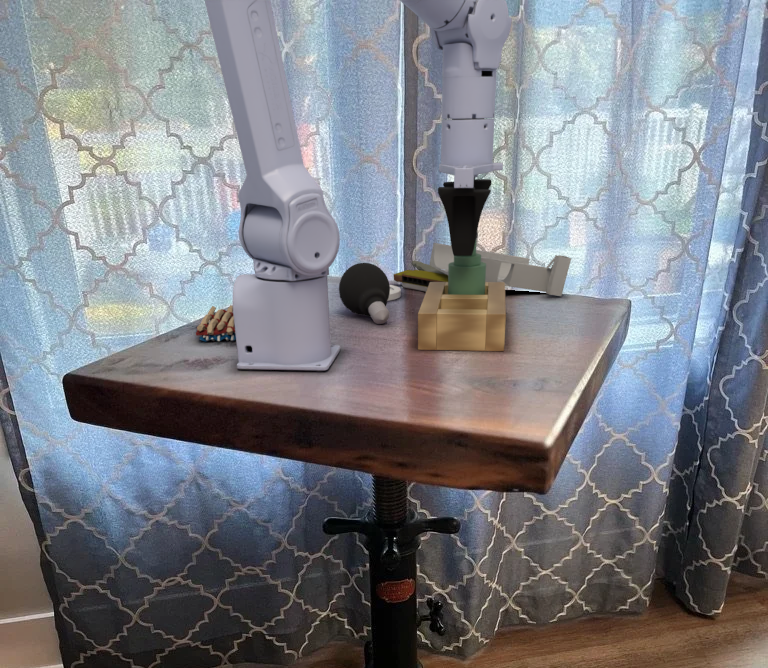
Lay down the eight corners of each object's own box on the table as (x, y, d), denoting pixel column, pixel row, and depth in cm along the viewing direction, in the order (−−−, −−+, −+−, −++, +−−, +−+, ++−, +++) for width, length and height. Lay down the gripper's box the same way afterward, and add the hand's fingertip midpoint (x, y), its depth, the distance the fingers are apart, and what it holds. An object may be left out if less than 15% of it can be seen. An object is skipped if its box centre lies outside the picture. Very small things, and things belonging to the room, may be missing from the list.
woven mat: (191, 326, 88) (194, 344, 89) (286, 323, 88) (287, 340, 89) (206, 305, 97) (209, 321, 98) (292, 302, 98) (293, 318, 99)
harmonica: (408, 267, 116) (409, 281, 117) (392, 272, 115) (394, 286, 116) (480, 279, 106) (481, 294, 107) (464, 284, 105) (465, 299, 106)
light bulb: (368, 294, 91) (340, 249, 97) (352, 340, 95) (326, 295, 101) (415, 299, 94) (385, 256, 100) (398, 343, 98) (370, 299, 104)
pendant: (411, 290, 108) (411, 296, 109) (368, 278, 116) (368, 283, 117) (368, 298, 105) (368, 304, 105) (327, 285, 113) (327, 290, 113)
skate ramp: (522, 279, 118) (530, 244, 116) (561, 296, 106) (571, 258, 104) (429, 265, 113) (436, 228, 111) (460, 281, 102) (468, 241, 100)
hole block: (417, 349, 85) (417, 313, 83) (429, 313, 100) (429, 281, 98) (504, 351, 84) (505, 314, 82) (503, 314, 99) (504, 282, 97)
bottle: (446, 327, 93) (447, 235, 89) (448, 318, 97) (450, 229, 92) (483, 328, 93) (487, 235, 88) (484, 319, 97) (487, 229, 92)
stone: (436, 286, 114) (467, 285, 116) (437, 272, 113) (468, 271, 115) (406, 270, 125) (435, 270, 126) (406, 257, 124) (436, 257, 125)
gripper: (505, 119, 78) (498, 260, 84) (504, 117, 91) (498, 240, 97) (435, 120, 79) (433, 260, 85) (443, 118, 92) (441, 240, 98)
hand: (464, 249), depth 91 cm, fingers open, 7 cm apart
